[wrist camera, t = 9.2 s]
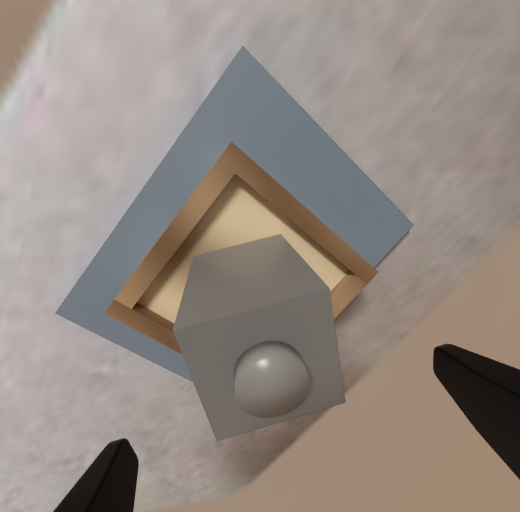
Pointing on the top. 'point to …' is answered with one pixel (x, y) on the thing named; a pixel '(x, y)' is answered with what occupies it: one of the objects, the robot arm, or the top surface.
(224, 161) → the wooden tray
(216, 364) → the block
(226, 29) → the top surface
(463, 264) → the top surface
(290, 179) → the board
